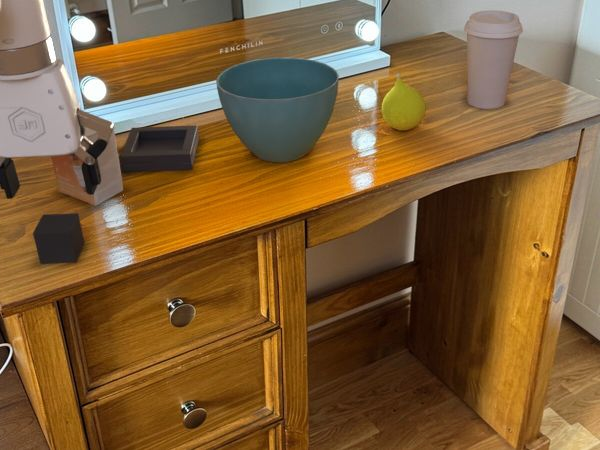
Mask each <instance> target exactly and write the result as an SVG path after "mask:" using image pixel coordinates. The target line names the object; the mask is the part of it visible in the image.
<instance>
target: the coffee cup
mask: <svg viewBox="0 0 600 450" xmlns="http://www.w3.org/2000/svg"><path fill="white" fill-rule="evenodd" d="M463 30H464V32H465V33H466V101H467V104H468V105H470V106H471V107H473V108H477V109H482V110H494V109H495V110H496V109H499V108H502V107H503V106H505V104H506V99H507V95H508V90H509V85H510V79H511V75H512V72H513V71H512V70H513V66H514V60H515V56H516V53H517V47H518V42H519V37H520V35H522V34H523V32H524V28H523V24H522V23H521V21H520V17H519V16H518V15H517V14H515V13H513V12H509V11H504V10H481V11H476V12H474V13H471V15H470V16H469V18H468V20H467V21H466V23H465V24H464V27H463Z"/></svg>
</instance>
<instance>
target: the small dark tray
mask: <svg viewBox="0 0 600 450" xmlns="http://www.w3.org/2000/svg"><path fill="white" fill-rule="evenodd" d="M198 127H199V126H198V125H197V124H196V125H195V124H194V125H172V126H171V125H170V126H169V125H168V126H142V127H140V126H139V127H138V126H137V127H131V129H130V131H129V133H128V136H127V138H126V141H125V143H124V146H123V147H122V149H121V150H122V151H121V152H120V155H119V162H120V168H121V173H145V172H146V173H147V172H148V173H149V172H173V171H174V172H175V171H176V172H177V171H193V168H194V164H195V160H196V156H197V151H198V147H199V142H200V138H199V137H200V136H199V128H198Z"/></svg>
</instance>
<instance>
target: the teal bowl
mask: <svg viewBox="0 0 600 450" xmlns="http://www.w3.org/2000/svg"><path fill="white" fill-rule="evenodd" d="M215 81H216V83H215V84H216V90H217V94H218V99H219V102H220V106H221V108H222V111H223V113H224V115H225V118H226V120H227V122H228V124H229V126H230V128H231V129H232V131H233V132H234V134H235V135H236V137H237V138H238V140H239V141H240V142H241V143H242V144H243V146H245V148H247V150H249V152H250V153H252V154H253V155H254V156H255V157H257V158H258V159H259V160H262V161H265V162H270V163H290V162H294V161H297V160H299V159H302V158H303V157H305V156H306V155H307V154H308V153H309V152H310V151H311V150H312V149H313V148H314V146H315V145H316V144H317V143H318V141H319V140H320V139H321V137H322V135H323V134H324V132H325V131H326V129H327V127H328V125H329V122H330V120H331V119H332V118H331V117H332V115H333V113H334V109H335V105H336V101H337V97H338V91H339V81H340V76H339V73H338V71H337V70H336V68H334V67H332V66H331V65H329V64H326V63H324V62H321V61H318V60H314V59H308V58H302V57H301V58H300V57H267V58H266V57H265V58H260V59H259V58H258V59H253V60H249V61H248V60H247V61H244V62H241V63H238V64H235V65H232V66H229V67H228V68H226V69H225V70H223V71H222V72H220V73H219V74H218V76H217V77H216V80H215Z"/></svg>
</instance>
